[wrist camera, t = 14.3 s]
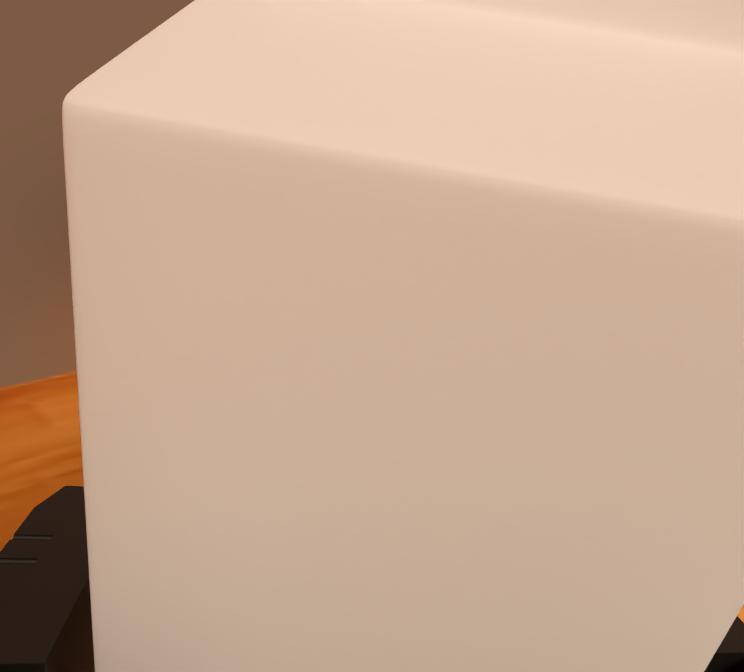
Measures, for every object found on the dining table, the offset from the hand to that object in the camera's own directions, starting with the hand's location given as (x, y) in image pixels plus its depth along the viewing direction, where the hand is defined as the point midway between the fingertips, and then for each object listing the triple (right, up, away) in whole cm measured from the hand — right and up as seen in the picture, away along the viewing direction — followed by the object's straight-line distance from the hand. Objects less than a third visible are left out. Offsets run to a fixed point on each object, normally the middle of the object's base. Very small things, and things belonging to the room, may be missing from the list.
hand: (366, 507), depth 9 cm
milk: (-2, -12, +3) cm, 13 cm away
